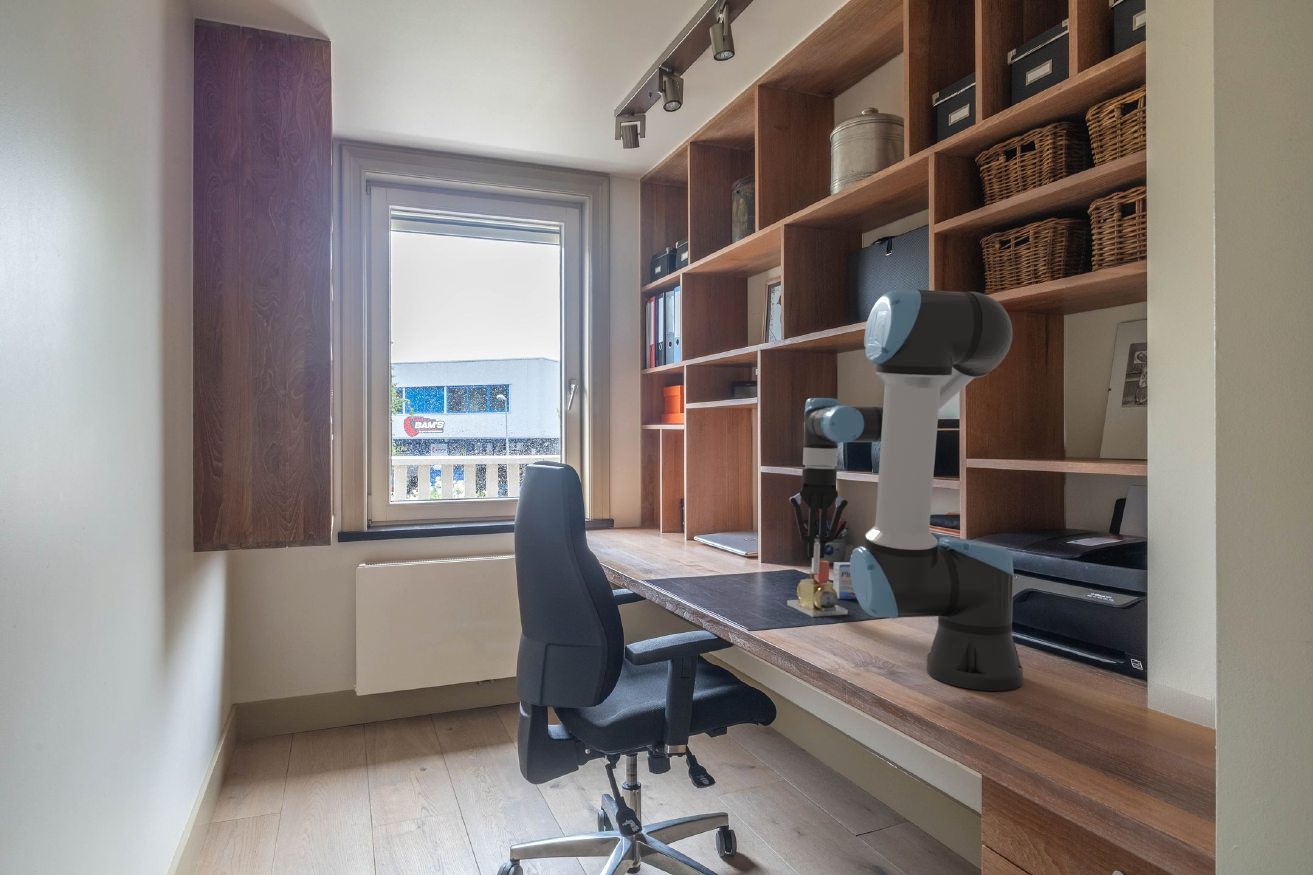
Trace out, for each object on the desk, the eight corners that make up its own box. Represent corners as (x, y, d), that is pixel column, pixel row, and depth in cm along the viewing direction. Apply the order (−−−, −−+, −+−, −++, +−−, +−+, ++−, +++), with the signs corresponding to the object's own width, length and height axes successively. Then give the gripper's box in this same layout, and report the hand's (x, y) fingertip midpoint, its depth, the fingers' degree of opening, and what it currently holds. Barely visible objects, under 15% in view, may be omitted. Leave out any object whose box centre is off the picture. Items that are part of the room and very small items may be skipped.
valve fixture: (847, 614, 167) (847, 583, 167) (812, 616, 164) (812, 585, 164) (820, 602, 178) (820, 573, 178) (787, 604, 176) (787, 575, 176)
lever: (822, 576, 173) (822, 555, 173) (831, 585, 163) (831, 562, 163) (808, 576, 173) (809, 554, 173) (816, 585, 163) (816, 562, 163)
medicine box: (838, 599, 182) (839, 564, 182) (832, 595, 186) (833, 561, 186) (869, 599, 183) (869, 564, 182) (862, 595, 187) (863, 561, 187)
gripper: (845, 467, 167) (841, 570, 167) (789, 465, 168) (785, 567, 168) (851, 469, 159) (847, 577, 160) (792, 466, 160) (787, 574, 161)
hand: (815, 572), depth 164 cm, fingers closed
